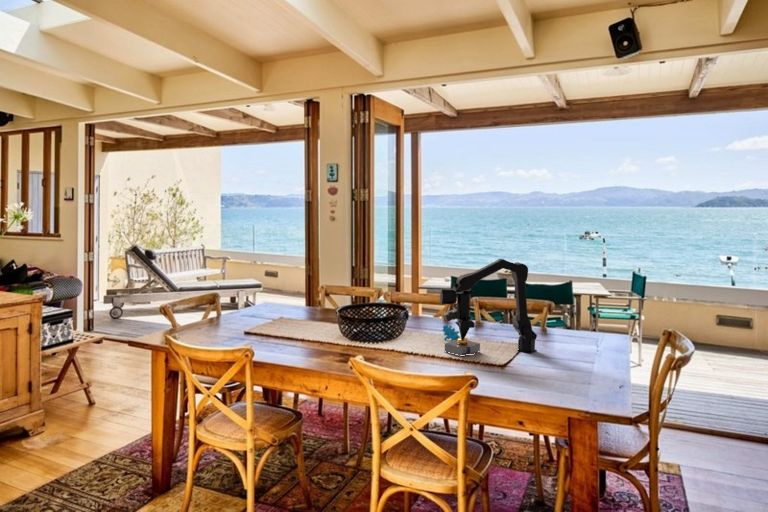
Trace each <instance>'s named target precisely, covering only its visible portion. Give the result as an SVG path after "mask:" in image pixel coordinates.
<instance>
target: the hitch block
mask: <svg viewBox="0 0 768 512" xmlns="http://www.w3.org/2000/svg"><path fill="white" fill-rule="evenodd" d="M445 351H446V352H450V353H454V354H458V355H466V354H474V353H476V352H478V351H480V352H481V342H480V343H479V342H475V341H472V340H467V344H466V345H460V344H458V343H457V340H453V341H451V340H450V341H449V342H445V343H444V352H445ZM446 352H445V353H446ZM476 354H477V353H476Z"/></svg>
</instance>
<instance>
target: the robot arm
mask: <svg viewBox="0 0 768 512" xmlns="http://www.w3.org/2000/svg"><path fill="white" fill-rule="evenodd" d="M502 269H504V270H507V271H510V274H511V277H512V279H513V282H514V287H515V288H514V289H515V290H514V291H515V302H516V306H515V307H516V315H515V317H513V318H512V323H513V324H512V327H513V328H514V330H515V331H516V332H517V333H518V341H517V342H518V343H517V345H518V346H517V349H519V351H518V352H521V353H525V354H531V353H534V352H535V353H536V352H537V351H538V350H537V349H536V339H537V337H538V335H537V333H536V332H535V331H534V330H533V327H532V323H531V320H530V318H529V314H528V305H527V303H528V302H527V288H526V283H527V279H528V277H529V268H528V266H527V265H526V264H525V263H522V262H510V261H509V260H506V259H504V258H498V259H497V260H495V261H493V262H491V263H489V264H488V265H485V266H483V267H481V268H479V269H477V270H475V271H473V272H469V273H468V272H467V273H465V274H461V275H458V277H457V278H456V282H455V284H454V285H453V287H452V288H448V289H447V288H441V289H440V293H439V294H440V295H439V303H440V305H454V304H455V303H456V305H455V306H454V309H451V310H447V311H445V312H443V316H444V318H445V321H446V322H451V321H453V320H456V321H455V322H454V324H456V326H458V331H459V336H460V338H461V339H464V338H466V336H467V334H468V332H469V331H470V329H472V328H473V329H474V328H475V326H476V325H475V324H476V323H475V322H474V320H473V319H472V317H471V311H472V307H471V295H473V296H474V295H476V293H475V291H474V290H473V289H472V288H473V287H474V286H475V285H476V284H478V282H480V280H483V279H484V278H486V277H487V278H488V277H489V276H491V275H492V274H495V273H496V272H498V271H500V270H502Z"/></svg>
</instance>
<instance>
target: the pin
mask: <svg viewBox="0 0 768 512" xmlns="http://www.w3.org/2000/svg"><path fill="white" fill-rule="evenodd" d="M467 340H468V338H466V337H465V338H464V339H461V337H460V338H458V339H457V343H458V344H460V345H466V344H467Z"/></svg>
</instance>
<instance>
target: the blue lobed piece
mask: <svg viewBox="0 0 768 512" xmlns="http://www.w3.org/2000/svg"><path fill="white" fill-rule="evenodd" d="M442 332H443V334H444V336H445V337H444V338H443V340H444V341H446V340H447V339H448V340H450V341H453V340H457V339H458V338H461V335H459V334H460V330H456V328H455V327H453V328H452V326H451V325H450V324H445V325H443V326H442Z"/></svg>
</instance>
